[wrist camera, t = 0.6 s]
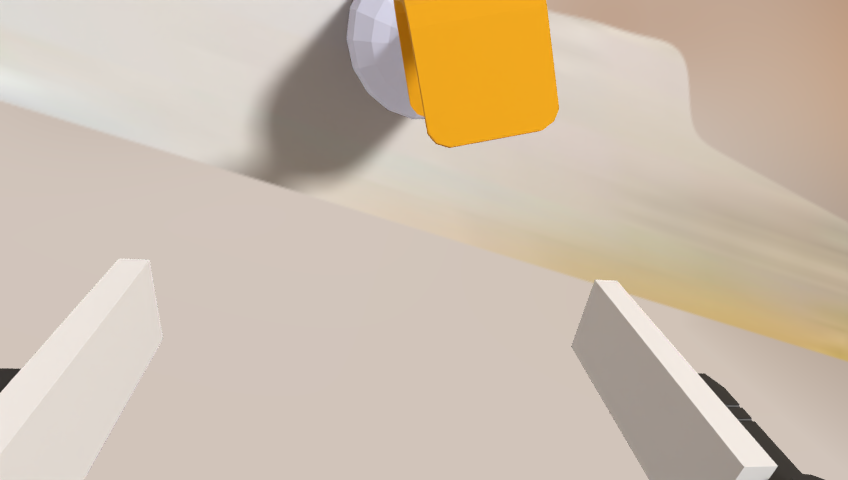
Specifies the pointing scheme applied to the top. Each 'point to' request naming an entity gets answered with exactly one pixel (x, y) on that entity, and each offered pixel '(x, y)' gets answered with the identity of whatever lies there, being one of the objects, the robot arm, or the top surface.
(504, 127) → the soap bottle
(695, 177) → the top surface
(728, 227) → the top surface
